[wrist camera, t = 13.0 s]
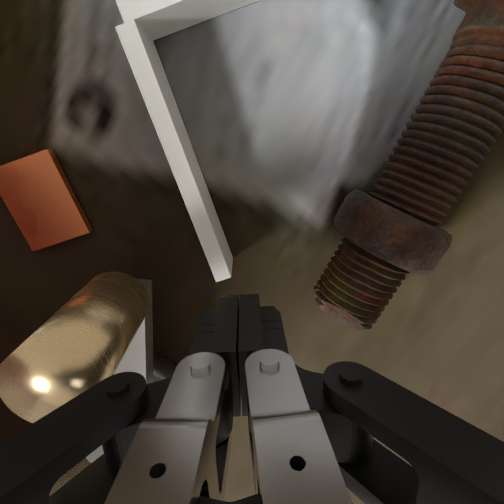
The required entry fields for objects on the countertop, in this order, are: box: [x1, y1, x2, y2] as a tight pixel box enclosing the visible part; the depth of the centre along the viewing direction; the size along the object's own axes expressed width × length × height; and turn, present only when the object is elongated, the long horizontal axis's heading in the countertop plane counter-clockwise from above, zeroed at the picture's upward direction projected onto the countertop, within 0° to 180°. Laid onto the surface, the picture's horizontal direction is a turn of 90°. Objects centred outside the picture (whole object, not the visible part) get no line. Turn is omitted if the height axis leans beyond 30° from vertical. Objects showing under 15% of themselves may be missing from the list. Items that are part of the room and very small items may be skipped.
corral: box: [115, 0, 259, 282], centre depth 13 cm, size 11×20×2 cm, turn 108°
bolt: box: [314, 0, 504, 330], centre depth 13 cm, size 6×5×15 cm
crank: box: [0, 271, 153, 463], centre depth 13 cm, size 11×4×6 cm, turn 175°
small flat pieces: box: [0, 149, 177, 382], centre depth 16 cm, size 16×5×2 cm, turn 18°
